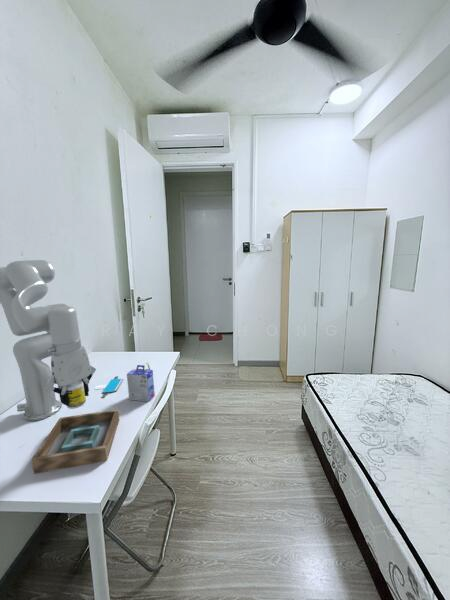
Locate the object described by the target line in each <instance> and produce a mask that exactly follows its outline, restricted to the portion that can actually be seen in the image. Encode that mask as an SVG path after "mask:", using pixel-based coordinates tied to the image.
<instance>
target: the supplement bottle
mask: <svg viewBox="0 0 450 600" xmlns="http://www.w3.org/2000/svg"><path fill="white" fill-rule="evenodd" d="M66 393H67V394H68V398H69V405H68V406H66V407H67V408H68V409H69V410H73V409H78V408H80V407H83V406H84V405H85V404H86V402H87V401H86V398H87V397H86V396H85V391H84V384H83V381H81V380H79V381H77V382H75V383H72V384H70V385H67V387H66Z"/></svg>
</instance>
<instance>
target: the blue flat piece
mask: <svg viewBox="0 0 450 600" xmlns="http://www.w3.org/2000/svg"><path fill="white" fill-rule="evenodd" d="M122 381H124V378H119V376H114V378H113V379H110V381H109V382H108V383H107V384H98V385H96V386H95V388H94V391H95V390H103V391H102V393H103V394H102V395H101V397H100V398H101V399H102V398H103V399H104V398H106V396H107V395H108V394H111V393H116V392H118V390H119V388H120V386H121V385H122V383H123V382H122Z"/></svg>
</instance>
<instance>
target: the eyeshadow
mask: <svg viewBox="0 0 450 600" xmlns="http://www.w3.org/2000/svg"><path fill="white" fill-rule="evenodd" d="M145 364H146V365H147V368H144V370H151V367H150V364H149V362H148V361H147V362H146V363H145Z"/></svg>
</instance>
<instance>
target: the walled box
mask: <svg viewBox="0 0 450 600" xmlns="http://www.w3.org/2000/svg"><path fill="white" fill-rule="evenodd" d="M119 413H120V411H119V409H112V410H105V411H103V410H102V411H96V412H91V413H90V412H89V413H85V414H77V415H76V414H75V415H70V416H64V417H59V419H58V420H57V422H55V425H54V426H53V427H52V429H51V430H50V432H49V433H48V435H47V436H46V438H45V440H44V441H43V442H42V444H41V445H40V446H39V448H38V450H37V452H36V453H35V455H34V456H33V457H32V459H31V464H32V465H31V466H32V470H33V474H35V475H36V474H40V473H46V472H51V471H55V470H56V471H57V470H61V469H68V468H72V467H78V466H83V465H84V466H85V465H90V464H94V463H96V464H97V463H101V462H106V461H108V459H109V456H110V452H111V449H112V446H113V442H114V439H115V437H116V436H115V435H116V433H117V430H118V429H117V428H118V426H119V423H120V415H119Z"/></svg>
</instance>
